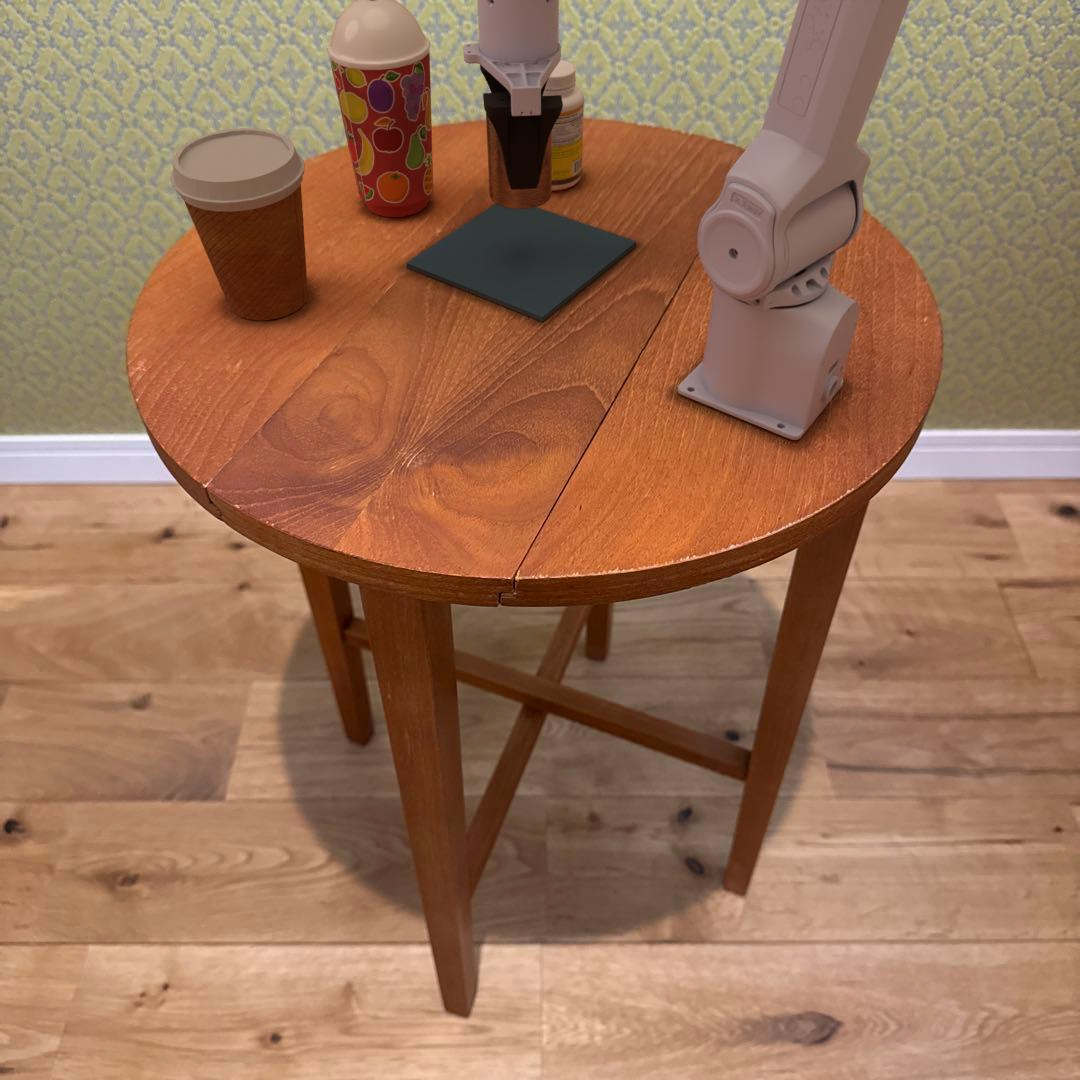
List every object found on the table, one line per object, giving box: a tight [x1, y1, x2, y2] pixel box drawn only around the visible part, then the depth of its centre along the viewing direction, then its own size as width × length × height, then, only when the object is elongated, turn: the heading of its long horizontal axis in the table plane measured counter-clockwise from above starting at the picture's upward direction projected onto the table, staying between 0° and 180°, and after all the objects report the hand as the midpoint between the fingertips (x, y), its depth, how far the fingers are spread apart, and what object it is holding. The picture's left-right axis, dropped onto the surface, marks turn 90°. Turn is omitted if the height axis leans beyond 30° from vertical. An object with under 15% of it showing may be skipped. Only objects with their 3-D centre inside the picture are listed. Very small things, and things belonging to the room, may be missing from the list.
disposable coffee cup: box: [170, 127, 309, 321], centre depth 74 cm, size 10×10×12 cm
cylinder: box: [485, 113, 553, 209], centre depth 75 cm, size 5×5×7 cm
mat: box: [405, 203, 637, 323], centre depth 82 cm, size 14×14×1 cm
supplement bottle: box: [543, 59, 585, 191], centre depth 88 cm, size 6×6×10 cm
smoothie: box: [326, 0, 434, 218], centre depth 82 cm, size 8×8×20 cm
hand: (521, 170), depth 77 cm, fingers closed on cylinder, 5 cm apart
